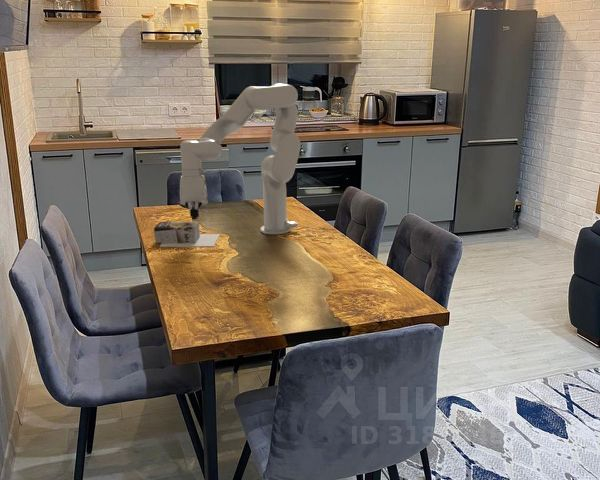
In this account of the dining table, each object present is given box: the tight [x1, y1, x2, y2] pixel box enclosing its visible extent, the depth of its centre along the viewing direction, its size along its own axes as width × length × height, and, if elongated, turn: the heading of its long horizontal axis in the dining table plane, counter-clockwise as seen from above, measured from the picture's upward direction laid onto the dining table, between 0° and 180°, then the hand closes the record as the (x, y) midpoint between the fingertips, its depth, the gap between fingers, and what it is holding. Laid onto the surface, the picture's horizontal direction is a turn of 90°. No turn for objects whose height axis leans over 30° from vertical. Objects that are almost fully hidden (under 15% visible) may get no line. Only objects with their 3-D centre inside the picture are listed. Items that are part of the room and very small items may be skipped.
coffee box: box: [153, 221, 201, 244], centre depth 236 cm, size 9×6×16 cm
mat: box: [159, 233, 221, 248], centre depth 237 cm, size 21×16×1 cm
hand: (194, 218), depth 234 cm, fingers closed
